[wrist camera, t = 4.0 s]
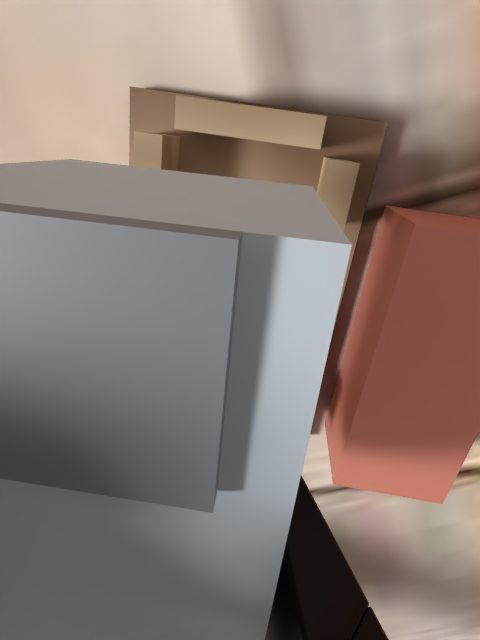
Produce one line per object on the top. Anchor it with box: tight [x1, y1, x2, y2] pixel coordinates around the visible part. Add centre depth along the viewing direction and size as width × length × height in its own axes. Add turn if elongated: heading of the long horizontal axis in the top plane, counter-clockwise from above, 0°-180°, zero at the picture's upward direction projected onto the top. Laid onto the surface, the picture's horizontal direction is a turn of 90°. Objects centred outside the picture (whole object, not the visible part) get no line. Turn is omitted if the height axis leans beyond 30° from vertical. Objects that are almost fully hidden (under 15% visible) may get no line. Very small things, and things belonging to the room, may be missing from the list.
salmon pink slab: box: [325, 205, 480, 504], centre depth 17 cm, size 12×5×4 cm, turn 173°
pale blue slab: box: [0, 159, 352, 640], centre depth 8 cm, size 12×5×5 cm, turn 175°
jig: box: [129, 87, 388, 339], centre depth 17 cm, size 16×10×3 cm, turn 173°
